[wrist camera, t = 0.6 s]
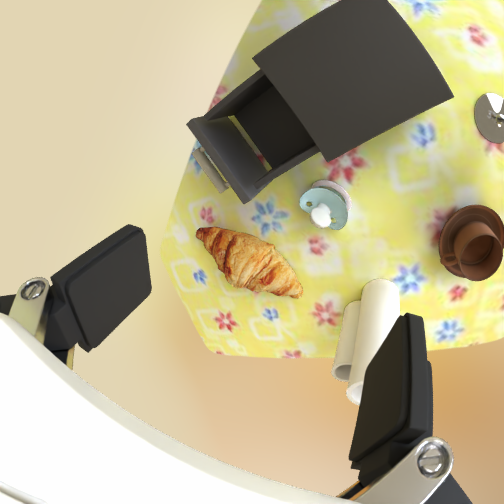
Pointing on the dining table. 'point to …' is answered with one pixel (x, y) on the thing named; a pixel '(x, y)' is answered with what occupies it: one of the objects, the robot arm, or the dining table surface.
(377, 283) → the vase
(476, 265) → the cup and saucer
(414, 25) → the dining table surface
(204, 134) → the drawer
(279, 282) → the croissant
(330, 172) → the dining table surface
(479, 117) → the wine glass
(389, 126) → the cabinet
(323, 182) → the pacifier
